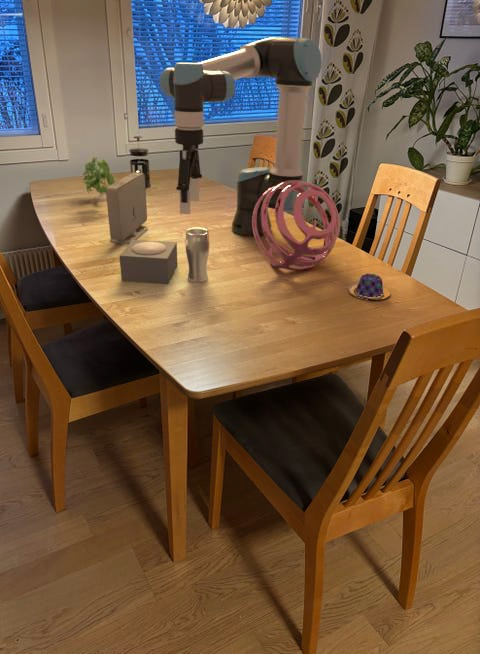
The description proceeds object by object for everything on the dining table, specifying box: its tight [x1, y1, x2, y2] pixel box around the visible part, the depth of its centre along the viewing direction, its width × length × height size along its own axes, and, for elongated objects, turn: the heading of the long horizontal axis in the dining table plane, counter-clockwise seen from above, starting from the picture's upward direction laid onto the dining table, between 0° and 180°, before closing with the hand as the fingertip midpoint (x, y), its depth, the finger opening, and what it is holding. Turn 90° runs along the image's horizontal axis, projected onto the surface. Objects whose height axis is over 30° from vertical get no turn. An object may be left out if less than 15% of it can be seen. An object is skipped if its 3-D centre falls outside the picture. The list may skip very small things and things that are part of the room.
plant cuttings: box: [81, 156, 115, 205], centre depth 220 cm, size 35×17×22 cm
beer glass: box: [185, 227, 210, 284], centre depth 151 cm, size 7×7×15 cm
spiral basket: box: [252, 180, 341, 272], centre depth 162 cm, size 28×28×27 cm
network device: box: [105, 172, 149, 245], centre depth 183 cm, size 26×9×20 cm, turn 168°
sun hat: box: [348, 273, 384, 301], centre depth 149 cm, size 12×12×5 cm
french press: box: [128, 135, 151, 189], centre depth 245 cm, size 12×9×23 cm
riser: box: [119, 239, 178, 285], centre depth 156 cm, size 14×14×8 cm
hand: (190, 207), depth 146 cm, fingers open, 13 cm apart
